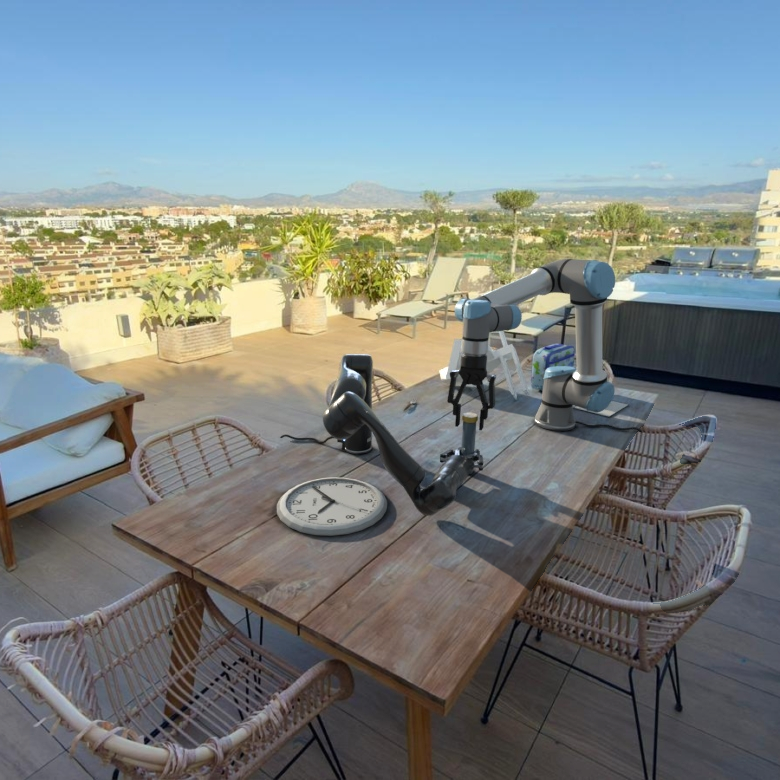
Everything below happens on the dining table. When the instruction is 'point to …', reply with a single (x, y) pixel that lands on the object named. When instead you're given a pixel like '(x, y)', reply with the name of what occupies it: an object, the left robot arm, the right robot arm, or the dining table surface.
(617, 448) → the dining table surface
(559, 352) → the lunch box
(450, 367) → the white plastic object
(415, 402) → the fork
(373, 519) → the wall clock
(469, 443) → the gray cylinder
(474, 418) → the lid
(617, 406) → the invitation card
